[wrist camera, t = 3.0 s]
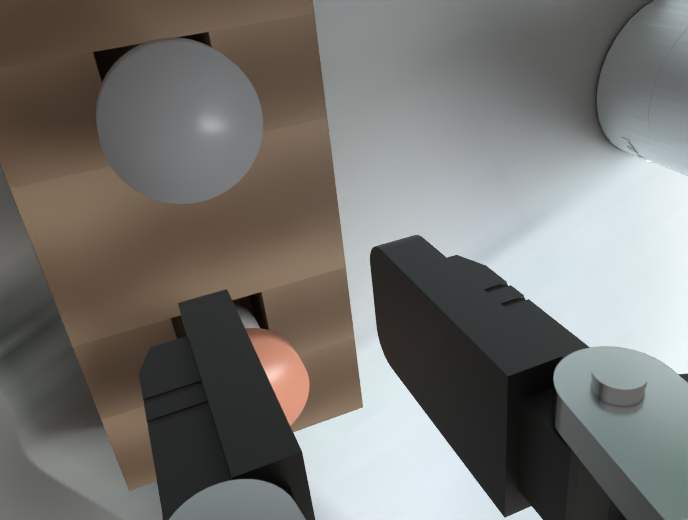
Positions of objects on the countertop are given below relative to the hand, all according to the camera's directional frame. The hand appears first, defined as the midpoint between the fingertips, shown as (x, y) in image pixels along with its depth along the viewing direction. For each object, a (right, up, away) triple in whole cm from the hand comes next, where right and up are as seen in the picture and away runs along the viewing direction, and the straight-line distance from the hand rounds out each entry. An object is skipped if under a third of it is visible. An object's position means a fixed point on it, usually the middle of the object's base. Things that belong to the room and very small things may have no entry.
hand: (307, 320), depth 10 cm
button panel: (-7, +4, +20) cm, 22 cm away
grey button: (-6, +7, +14) cm, 17 cm away
